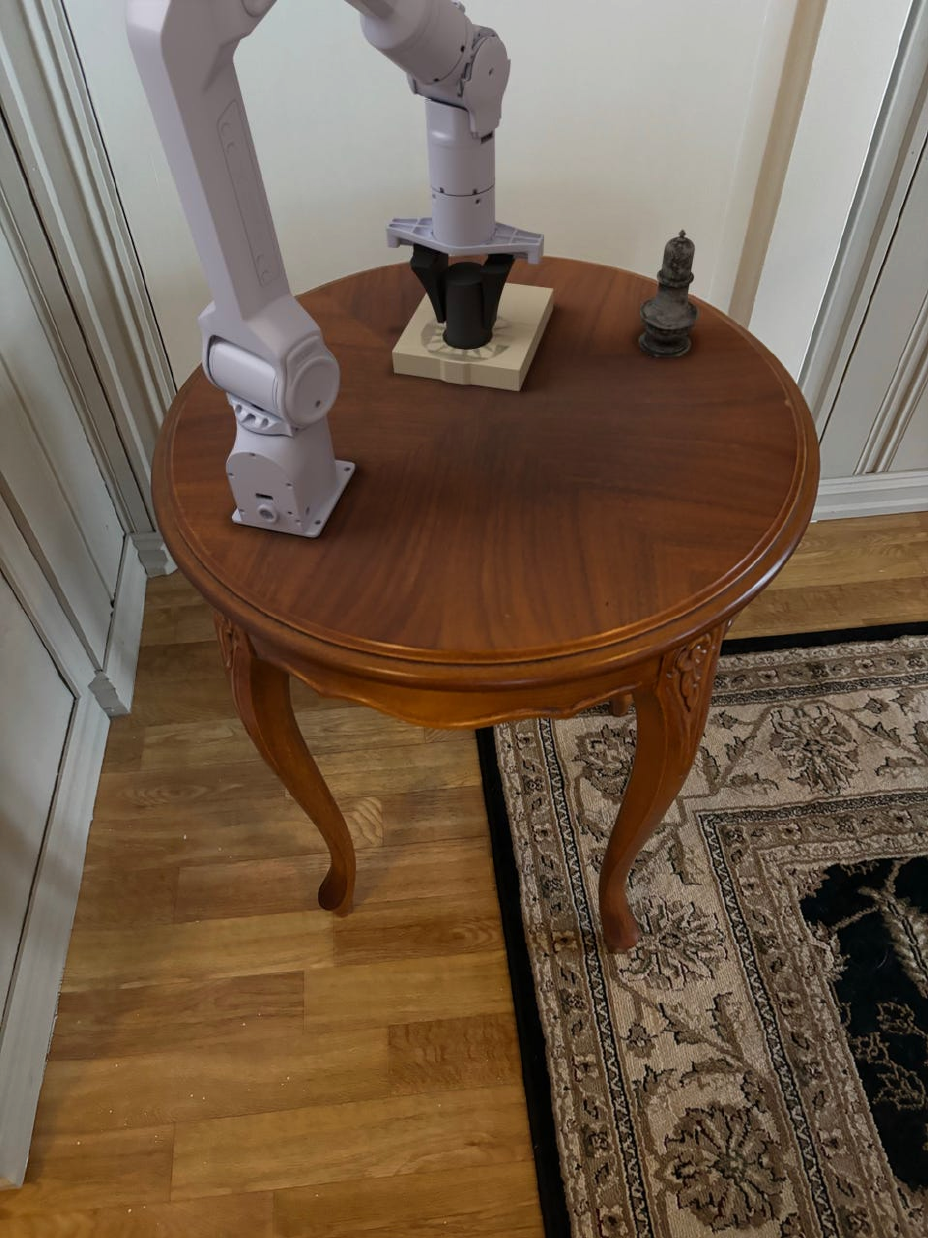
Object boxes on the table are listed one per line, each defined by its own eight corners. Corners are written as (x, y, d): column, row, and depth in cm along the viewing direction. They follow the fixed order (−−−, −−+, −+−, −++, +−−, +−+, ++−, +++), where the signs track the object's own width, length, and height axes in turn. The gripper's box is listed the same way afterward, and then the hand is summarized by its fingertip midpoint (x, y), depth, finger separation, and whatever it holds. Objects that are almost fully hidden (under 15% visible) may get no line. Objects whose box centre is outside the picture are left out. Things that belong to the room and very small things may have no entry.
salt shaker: (625, 348, 91) (639, 234, 82) (651, 320, 94) (668, 208, 85) (677, 366, 89) (698, 251, 79) (703, 337, 92) (726, 224, 82)
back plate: (518, 393, 87) (519, 371, 85) (393, 374, 89) (390, 352, 87) (552, 309, 96) (554, 288, 94) (438, 294, 99) (437, 273, 97)
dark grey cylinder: (482, 352, 88) (480, 286, 82) (441, 346, 88) (437, 281, 83) (493, 329, 90) (492, 264, 85) (453, 323, 91) (450, 258, 86)
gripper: (554, 168, 78) (547, 308, 89) (398, 154, 81) (410, 290, 92) (535, 206, 74) (531, 348, 84) (372, 188, 77) (387, 328, 87)
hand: (467, 321), depth 88 cm, fingers closed on dark grey cylinder, 4 cm apart
